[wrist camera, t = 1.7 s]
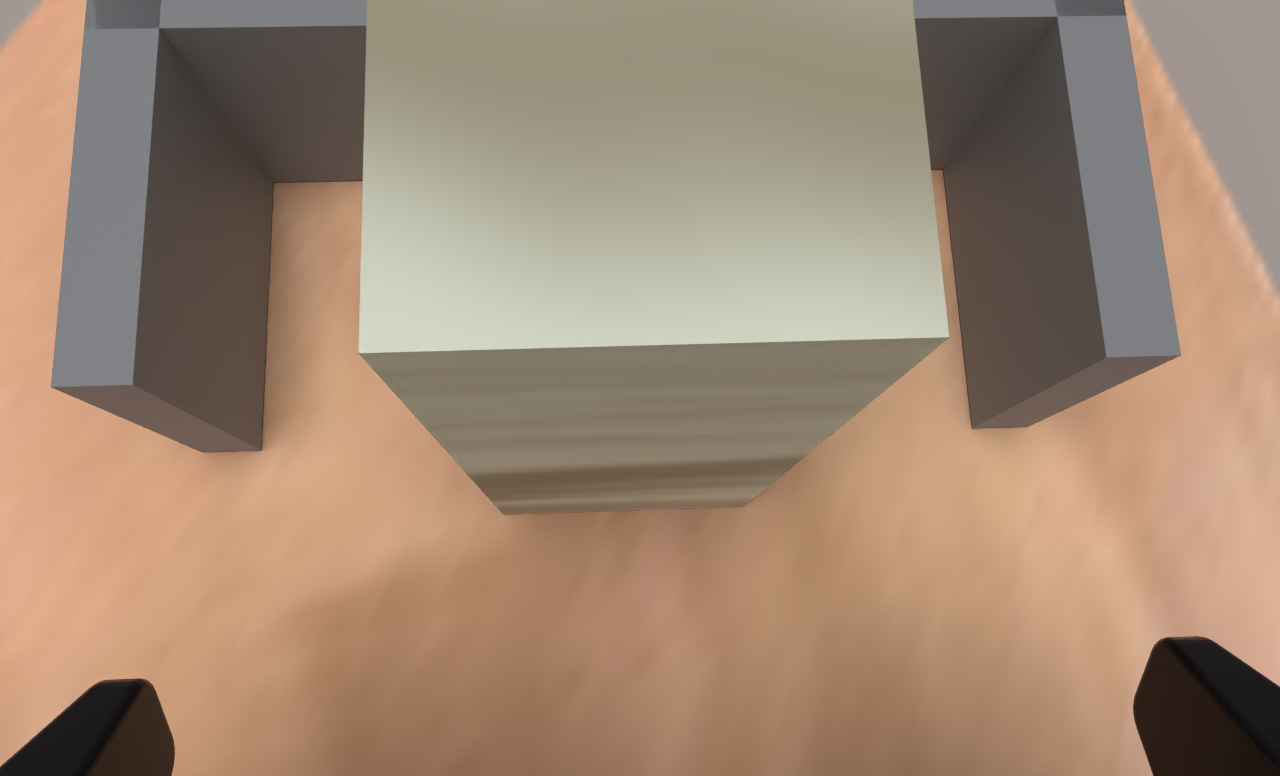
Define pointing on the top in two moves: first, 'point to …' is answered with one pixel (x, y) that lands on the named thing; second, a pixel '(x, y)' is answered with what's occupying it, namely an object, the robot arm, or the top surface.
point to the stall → (333, 151)
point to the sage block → (643, 237)
